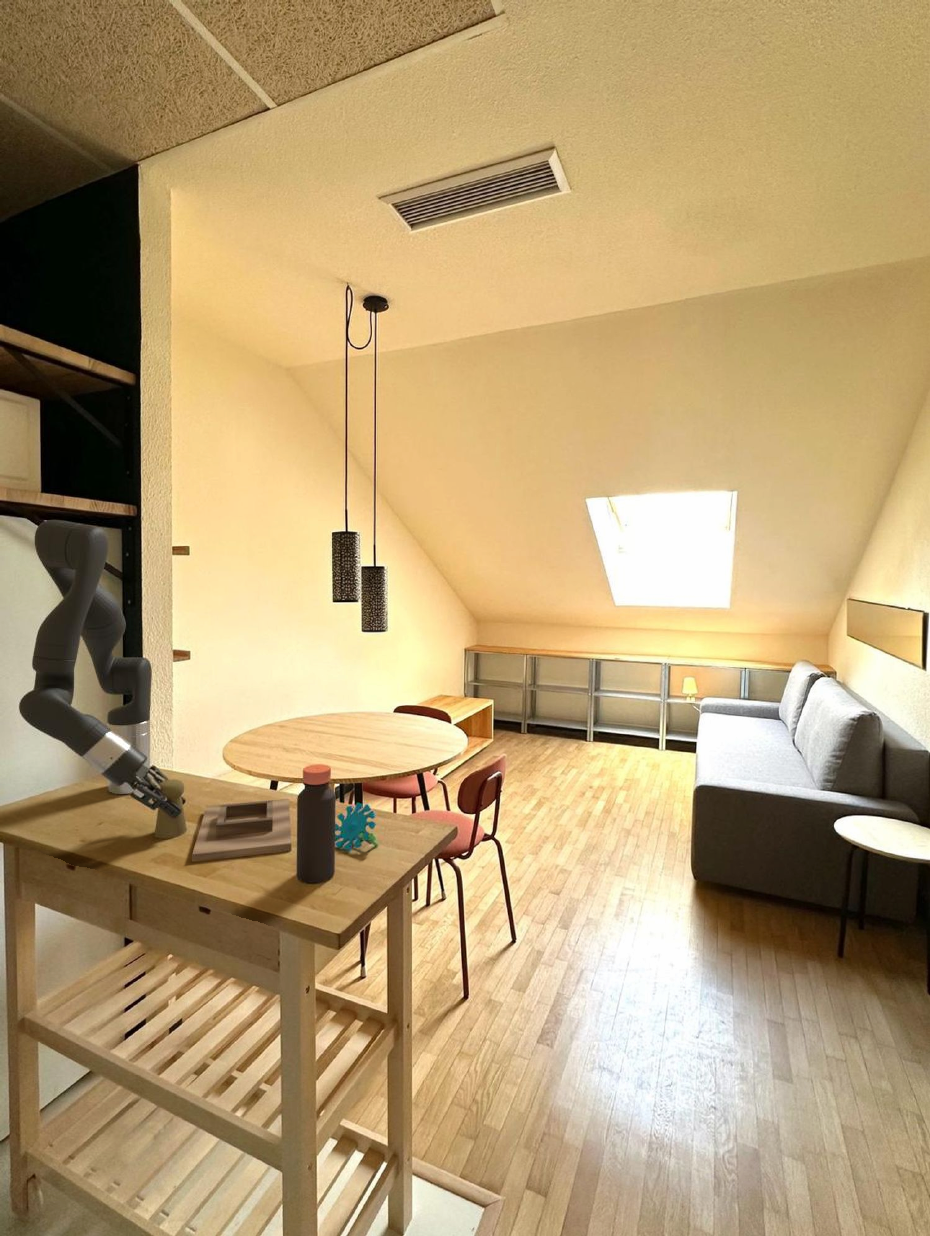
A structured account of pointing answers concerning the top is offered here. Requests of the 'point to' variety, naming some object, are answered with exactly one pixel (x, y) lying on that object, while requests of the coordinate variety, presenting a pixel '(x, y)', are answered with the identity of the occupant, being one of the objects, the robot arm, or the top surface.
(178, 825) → the cork
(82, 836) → the top surface
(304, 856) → the bottle
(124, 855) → the top surface
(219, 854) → the jig board
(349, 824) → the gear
